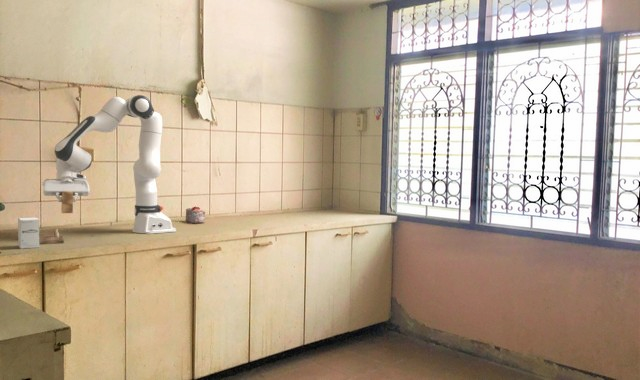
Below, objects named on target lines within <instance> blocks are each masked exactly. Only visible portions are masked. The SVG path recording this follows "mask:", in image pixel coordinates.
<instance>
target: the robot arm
mask: <svg viewBox="0 0 640 380" xmlns="http://www.w3.org/2000/svg"><path fill="white" fill-rule="evenodd" d="M126 116H129V117H131V118H139V120H140V132H139V139H138V151H139V152H138V153H139V154H138V156H139V158H138V159H137V160H135V162H134V163H133V165H132V168H133V169H132V170H133V180H134V186H135V204H134V216H135V217H134V224H133V227H132V228H133V229H132V233H136V234H137V233H139V234H148V235H150V234H152V235H153V234H162V233H163V234H164V233H175V232H177V228H176V227H173V222H172V219H171V218H170V217H169V216H167V215H166V214H164V213H163V212H162V211H163V210H164V206H162V205H159V204H158V188H157V182H156V179H157V178H158V177H160V174H161V172H162V166H161V163H162V162H161V161H162V160H161V158H162V157H161V145H162V136H163V128H164V127H163V117H162V115H161V114H160V113H159V112H157V111H155V110H154V107H153V105H152V102H151V100H150V99H149V98H148V97H147V96H145V95H142V94H139V95H133V96H131V97H130V98H128V99H123V98H122V97H119V96H112V97H111V98H109V100H108V101H107V102H105V104H104V105H103V106H102V107H101V109H100V110H99V111H98V112H97V113H96V114H95V115H89V116H87V117H86V118H84V119H83V120H82V121H81V122H80V123H79V124H78V125H77V126H76V127H74V129H73V130H72V131H70V133H69V134H67V136H65V137H64V138H62V140H60V141H59V142H58V143H57V144H56V145H55V147H54V155H55V157H56V158H57V159H56V163H55V164H56V165H55V166H56V171H57V172H56V178H45V179H43V181H42V186H43V192H42V193H43V195H44V196H46V197H50V196H52V197H55V198H56V199H57V200H58V203H62V191H73V203H76V201H77V199H78V197H88V196H89V195H90V191H91V189H90V184H89V181H87V176H86V175H85V174H81V172H84V171H87V170H88V169H89V168H90V167H91V165H92V162H93V155H91V153H89V152H88V151H86V150H85V149H83V148H81V147H80V146H79V145H77V143H78V142H79V141H80V140H81V139H82V138H83V137H84V136H85V135H86V134H87V133H88V132H92V131H96V132H99V133H100V132H101V133H111V132H113V131H115V130H116V129H117V128H118V126H119V125H120V123H121V121H122V120H123V119H124V118H125V117H126Z"/></svg>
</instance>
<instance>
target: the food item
mask: <svg viewBox="0 0 640 380" xmlns="http://www.w3.org/2000/svg"><path fill="white" fill-rule="evenodd" d="M205 219H206V210H203V209H201V207H199V206H193V207H189V208H186V209H185V221H186V222H188V223H190V224H195V225H196V224H197V225H198V224H199V225H200V224H205Z"/></svg>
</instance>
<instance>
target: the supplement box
mask: <svg viewBox="0 0 640 380" xmlns="http://www.w3.org/2000/svg"><path fill="white" fill-rule="evenodd" d="M17 225H18V226H17V232H18V235H17V236H18V240H17V242H18V243H17V245H18V248H19V249H21V250H22V249H31V248H32V249H35V248H37V249H38V248H40V244H39V237H40V219H39V218H38V217H18V218H17Z"/></svg>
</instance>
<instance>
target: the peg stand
mask: <svg viewBox="0 0 640 380" xmlns="http://www.w3.org/2000/svg"><path fill="white" fill-rule="evenodd" d="M64 243H65V242H64V237H63V235H60V232H59V229H58V228H54V229H53V235H52V236H51V235H50V236H49V235H48V236H39V245H51V244H52V245H54V244H55V245H56V244H64Z"/></svg>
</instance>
